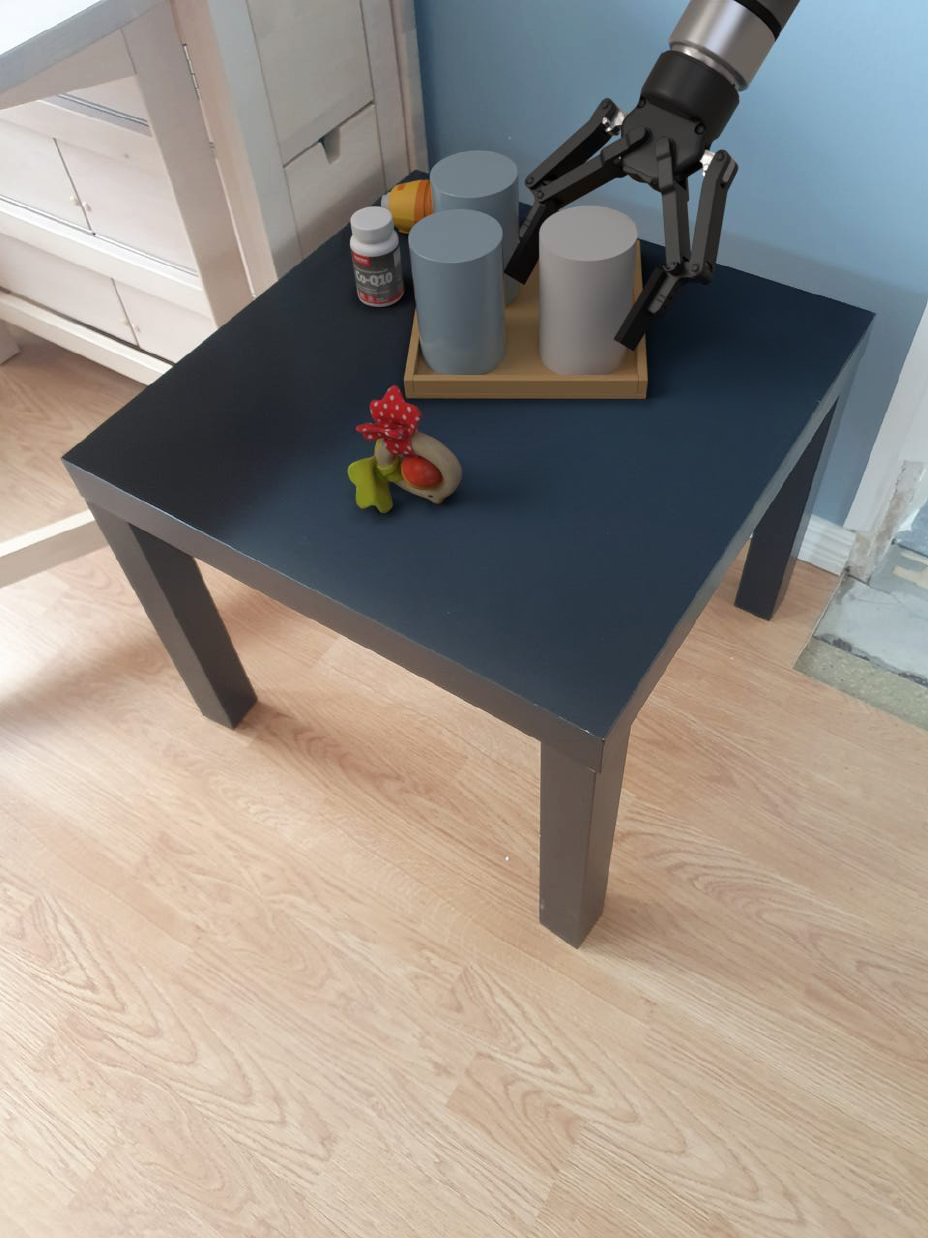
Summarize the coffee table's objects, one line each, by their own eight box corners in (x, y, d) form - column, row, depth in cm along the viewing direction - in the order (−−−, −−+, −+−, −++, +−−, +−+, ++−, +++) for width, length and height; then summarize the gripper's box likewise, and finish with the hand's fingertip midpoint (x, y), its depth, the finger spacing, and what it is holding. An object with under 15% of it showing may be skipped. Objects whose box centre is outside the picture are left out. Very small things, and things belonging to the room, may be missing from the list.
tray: (637, 257, 102) (639, 239, 100) (645, 399, 89) (647, 380, 87) (428, 260, 104) (426, 241, 102) (406, 398, 91) (403, 380, 89)
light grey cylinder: (640, 335, 93) (652, 217, 84) (606, 387, 89) (615, 270, 79) (560, 314, 96) (563, 197, 86) (524, 364, 92) (523, 247, 82)
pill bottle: (354, 307, 99) (340, 231, 93) (363, 279, 102) (350, 203, 95) (400, 309, 99) (390, 232, 92) (408, 280, 102) (399, 204, 95)
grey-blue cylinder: (521, 264, 101) (520, 148, 92) (518, 312, 96) (516, 196, 87) (443, 265, 102) (433, 150, 92) (436, 313, 97) (425, 197, 87)
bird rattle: (450, 490, 86) (354, 444, 85) (496, 408, 77) (389, 356, 76) (428, 543, 83) (328, 497, 82) (474, 464, 74) (362, 410, 72)
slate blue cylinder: (504, 322, 96) (501, 205, 86) (508, 376, 91) (504, 259, 81) (421, 326, 96) (409, 211, 86) (420, 381, 91) (407, 265, 81)
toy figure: (380, 243, 106) (491, 248, 104) (372, 194, 102) (488, 199, 100) (392, 215, 109) (499, 220, 107) (385, 167, 105) (497, 170, 103)
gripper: (845, 145, 77) (692, 386, 84) (612, 49, 90) (494, 266, 96) (818, 100, 71) (655, 365, 78) (572, 3, 83) (449, 239, 90)
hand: (566, 311), depth 87 cm, fingers open, 13 cm apart
